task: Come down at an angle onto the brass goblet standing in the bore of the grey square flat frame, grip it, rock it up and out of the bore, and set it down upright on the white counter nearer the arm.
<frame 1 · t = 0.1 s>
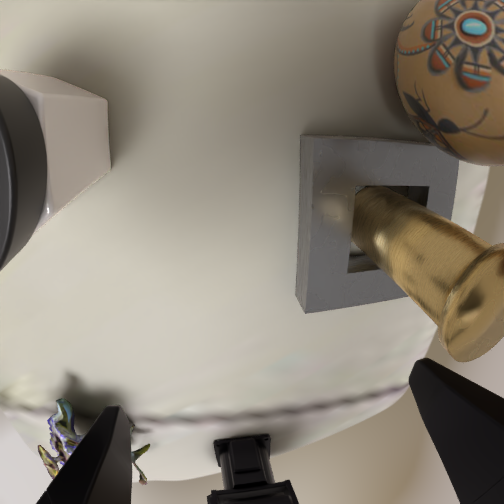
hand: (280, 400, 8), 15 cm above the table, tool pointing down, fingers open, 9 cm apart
ceramic vessel: (415, 70, 19), on the table
grey square flat frame: (373, 217, 23), on the table
passion flower: (100, 417, 28), on the table
brass goblet: (423, 253, 17), in the grey square flat frame
jar: (56, 142, 17), on the table
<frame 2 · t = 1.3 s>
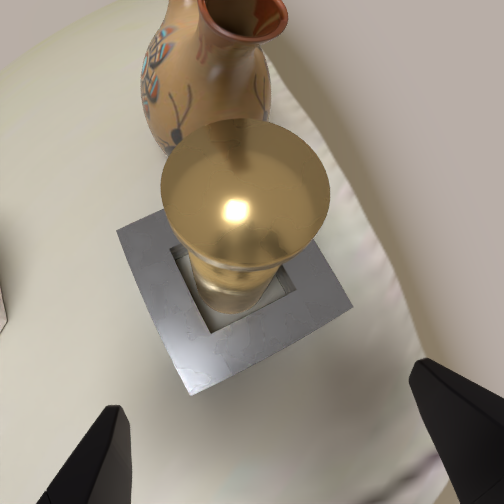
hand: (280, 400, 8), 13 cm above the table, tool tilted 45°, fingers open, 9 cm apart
ceramic vessel: (204, 147, 27), on the table
grey square flat frame: (230, 279, 23), on the table
brass goblet: (235, 247, 17), in the grey square flat frame
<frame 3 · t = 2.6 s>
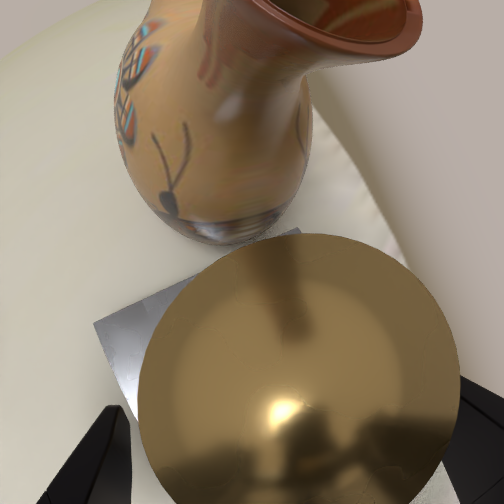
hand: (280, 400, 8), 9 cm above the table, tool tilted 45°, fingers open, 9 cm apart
ceramic vessel: (209, 190, 21), on the table
grey square flat frame: (248, 380, 17), on the table
brass goblet: (266, 386, 11), in the grey square flat frame
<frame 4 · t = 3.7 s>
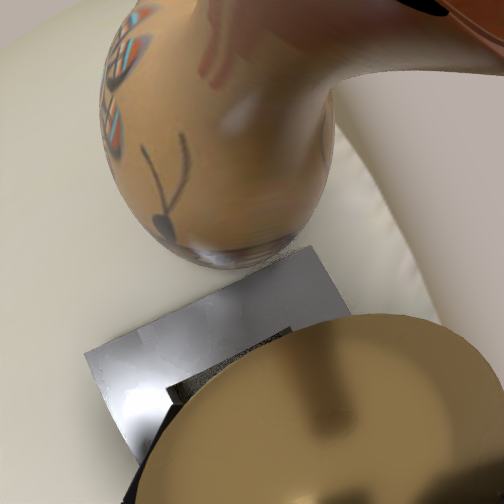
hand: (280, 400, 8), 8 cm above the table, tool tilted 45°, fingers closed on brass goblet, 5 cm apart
ceramic vessel: (211, 200, 19), on the table
grey square flat frame: (255, 411, 15), on the table
brass goblet: (279, 437, 9), in the grey square flat frame, touching gripper
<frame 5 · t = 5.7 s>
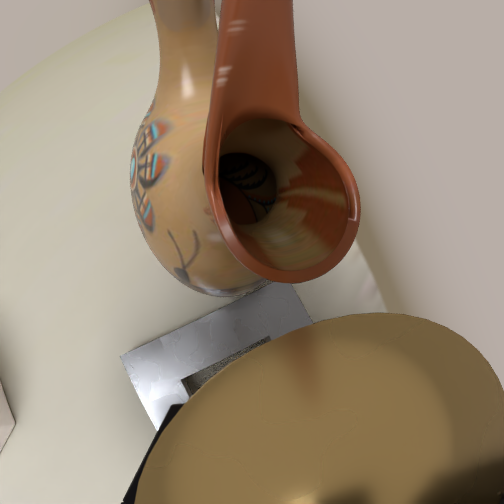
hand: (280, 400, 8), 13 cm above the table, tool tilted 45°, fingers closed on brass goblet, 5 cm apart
ceramic vessel: (212, 236, 25), on the table
grey square flat frame: (245, 397, 20), on the table
brass goblet: (279, 437, 9), point 12 cm above the table, touching gripper
when the fingers open (8 cm above the table, at t = 7.7 s): brass goblet stays where it is, on the table.
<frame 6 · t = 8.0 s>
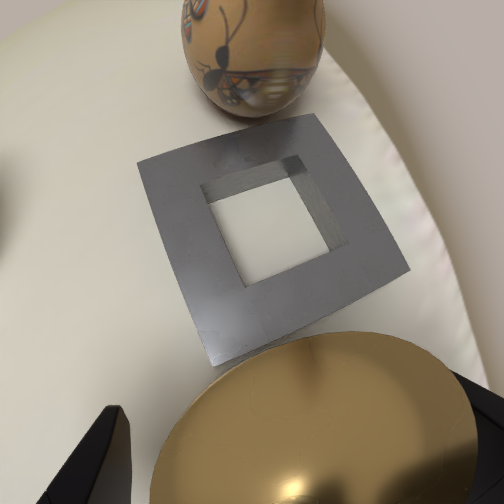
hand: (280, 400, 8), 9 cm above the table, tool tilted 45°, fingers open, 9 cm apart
ceramic vessel: (241, 95, 24), on the table
grey square flat frame: (267, 231, 19), on the table
brass goblet: (274, 434, 10), on the table
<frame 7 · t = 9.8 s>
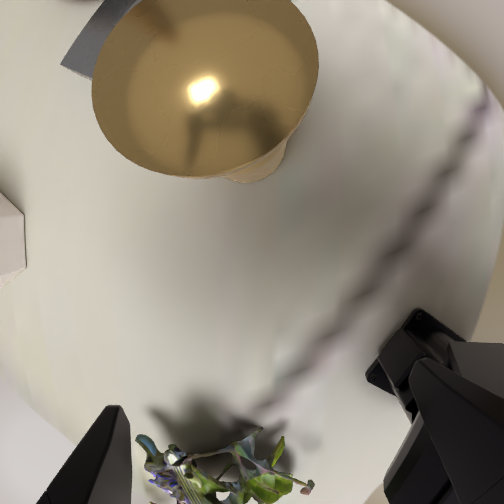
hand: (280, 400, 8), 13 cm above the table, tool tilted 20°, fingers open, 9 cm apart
grey square flat frame: (175, 31, 19), on the table
passion flower: (229, 445, 24), on the table
brass goblet: (231, 119, 13), on the table
jar: (1, 239, 23), on the table
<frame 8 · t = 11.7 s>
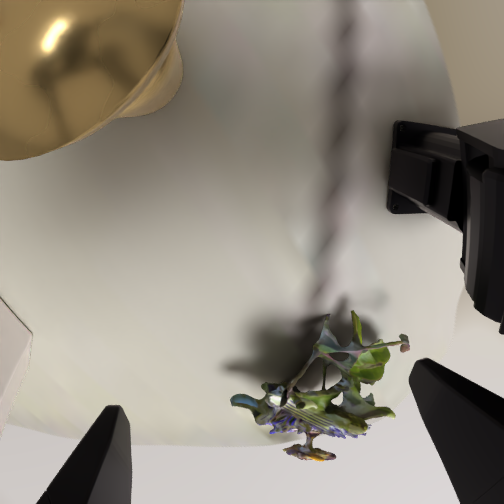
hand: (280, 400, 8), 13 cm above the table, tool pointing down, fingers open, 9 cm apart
passion flower: (310, 349, 26), on the table
brass goblet: (109, 55, 9), on the table
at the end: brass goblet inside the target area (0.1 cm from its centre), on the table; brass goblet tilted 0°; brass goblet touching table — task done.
